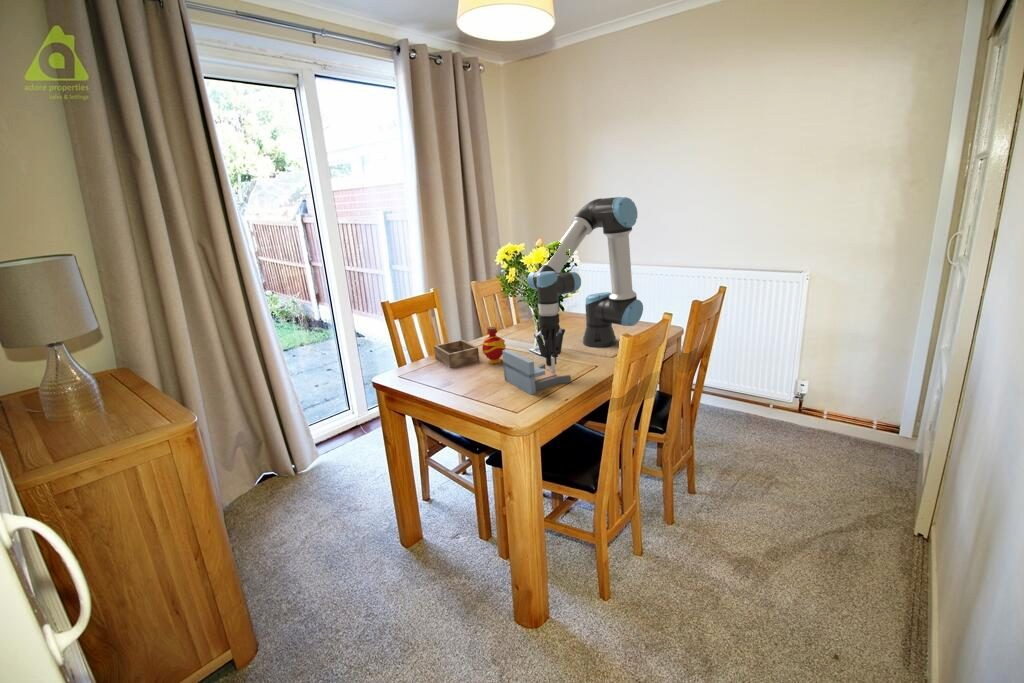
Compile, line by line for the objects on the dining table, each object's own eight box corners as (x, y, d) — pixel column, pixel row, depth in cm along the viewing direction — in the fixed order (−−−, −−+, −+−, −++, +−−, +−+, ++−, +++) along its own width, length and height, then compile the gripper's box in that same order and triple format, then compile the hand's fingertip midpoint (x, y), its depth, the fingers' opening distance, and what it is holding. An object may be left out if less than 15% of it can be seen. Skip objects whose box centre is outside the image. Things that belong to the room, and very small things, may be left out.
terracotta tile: (543, 375, 187) (543, 368, 186) (556, 381, 180) (556, 374, 179) (517, 383, 182) (517, 375, 181) (530, 389, 174) (529, 382, 173)
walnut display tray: (463, 351, 224) (461, 339, 222) (479, 360, 209) (478, 347, 208) (435, 358, 217) (433, 345, 215) (450, 367, 203) (448, 354, 201)
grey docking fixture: (543, 369, 193) (542, 340, 190) (572, 382, 177) (571, 351, 174) (504, 379, 184) (502, 350, 181) (531, 394, 169) (528, 362, 165)
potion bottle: (486, 366, 201) (482, 332, 197) (481, 359, 211) (477, 326, 206) (509, 362, 204) (507, 329, 199) (503, 356, 213) (501, 323, 209)
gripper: (557, 309, 183) (559, 366, 190) (528, 315, 177) (532, 374, 184) (569, 312, 177) (571, 371, 183) (539, 318, 171) (543, 379, 177)
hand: (551, 373), depth 183 cm, fingers closed
